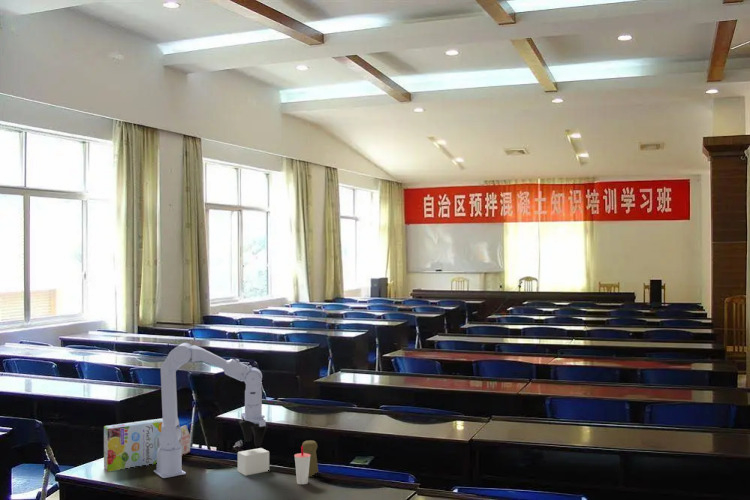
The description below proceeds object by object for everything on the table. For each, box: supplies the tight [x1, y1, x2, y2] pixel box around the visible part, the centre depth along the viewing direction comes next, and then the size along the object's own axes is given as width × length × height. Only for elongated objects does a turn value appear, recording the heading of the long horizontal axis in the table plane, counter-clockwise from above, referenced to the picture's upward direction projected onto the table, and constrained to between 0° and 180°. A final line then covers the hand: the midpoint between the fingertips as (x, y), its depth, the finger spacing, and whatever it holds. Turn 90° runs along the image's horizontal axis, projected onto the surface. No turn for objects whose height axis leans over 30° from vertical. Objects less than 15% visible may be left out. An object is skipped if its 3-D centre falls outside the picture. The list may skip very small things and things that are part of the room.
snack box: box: [103, 417, 163, 473], centre depth 242 cm, size 21×6×15 cm, turn 124°
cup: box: [293, 445, 311, 485], centre depth 223 cm, size 5×5×12 cm
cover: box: [237, 447, 270, 476], centre depth 235 cm, size 6×9×7 cm, turn 127°
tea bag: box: [179, 424, 191, 456], centre depth 257 cm, size 4×7×10 cm, turn 163°
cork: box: [301, 439, 319, 477], centre depth 233 cm, size 6×6×11 cm
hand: (253, 443), depth 236 cm, fingers open, 7 cm apart
